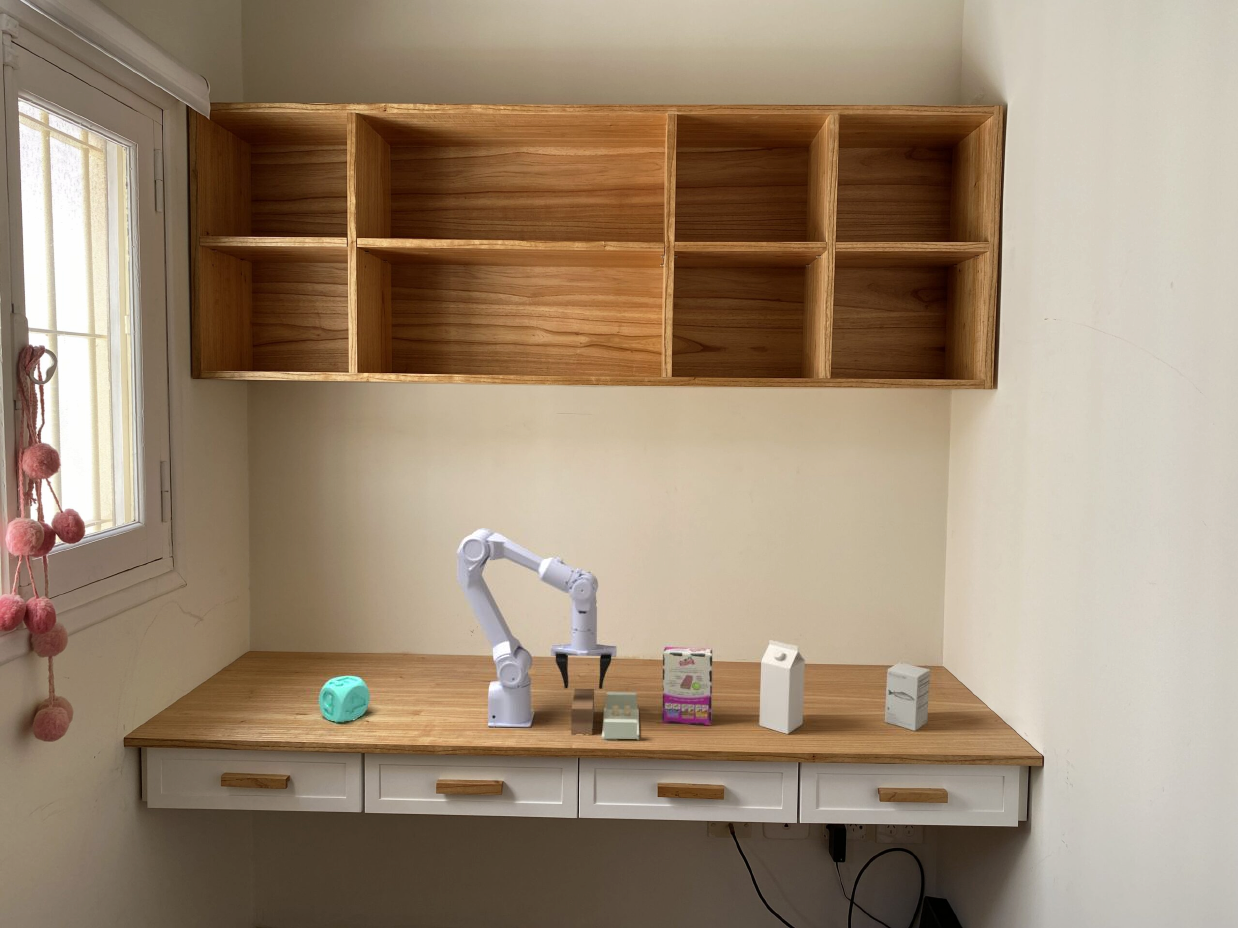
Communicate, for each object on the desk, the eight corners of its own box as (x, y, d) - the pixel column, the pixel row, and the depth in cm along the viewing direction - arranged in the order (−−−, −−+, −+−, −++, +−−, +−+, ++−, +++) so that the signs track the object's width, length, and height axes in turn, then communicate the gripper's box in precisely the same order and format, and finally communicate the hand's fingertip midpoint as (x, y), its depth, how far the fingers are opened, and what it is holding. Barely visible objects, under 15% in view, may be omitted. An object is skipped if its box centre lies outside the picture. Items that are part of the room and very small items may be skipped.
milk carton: (774, 716, 189) (777, 636, 187) (802, 724, 185) (805, 642, 183) (759, 726, 184) (761, 643, 182) (787, 734, 179) (790, 650, 177)
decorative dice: (370, 713, 188) (369, 680, 187) (341, 725, 181) (341, 690, 180) (347, 706, 192) (346, 673, 191) (318, 717, 185) (317, 683, 185)
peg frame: (639, 740, 175) (639, 722, 175) (601, 740, 175) (601, 721, 175) (638, 709, 192) (638, 692, 192) (604, 708, 192) (604, 691, 192)
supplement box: (883, 722, 186) (885, 668, 185) (897, 713, 192) (899, 660, 191) (915, 732, 181) (917, 676, 180) (928, 722, 187) (931, 668, 186)
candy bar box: (711, 717, 188) (713, 647, 187) (711, 726, 183) (713, 654, 182) (663, 714, 190) (664, 645, 188) (661, 722, 185) (662, 652, 183)
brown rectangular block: (592, 735, 178) (592, 709, 177) (571, 735, 178) (571, 708, 177) (594, 713, 190) (594, 688, 189) (574, 713, 190) (574, 688, 189)
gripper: (549, 632, 178) (549, 693, 179) (616, 633, 178) (615, 694, 179) (552, 623, 185) (552, 681, 186) (616, 624, 185) (616, 682, 186)
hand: (583, 686), depth 183 cm, fingers open, 7 cm apart
